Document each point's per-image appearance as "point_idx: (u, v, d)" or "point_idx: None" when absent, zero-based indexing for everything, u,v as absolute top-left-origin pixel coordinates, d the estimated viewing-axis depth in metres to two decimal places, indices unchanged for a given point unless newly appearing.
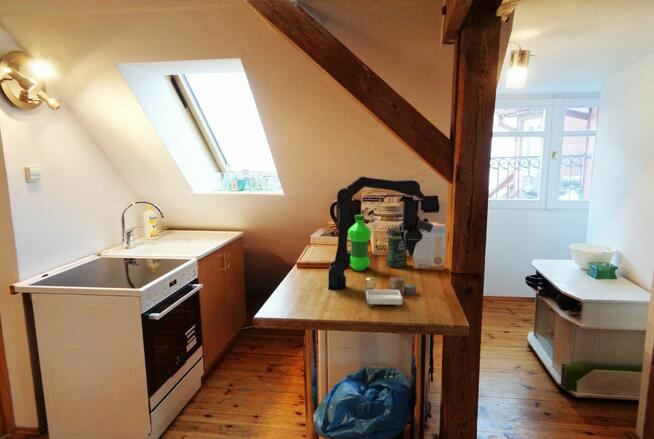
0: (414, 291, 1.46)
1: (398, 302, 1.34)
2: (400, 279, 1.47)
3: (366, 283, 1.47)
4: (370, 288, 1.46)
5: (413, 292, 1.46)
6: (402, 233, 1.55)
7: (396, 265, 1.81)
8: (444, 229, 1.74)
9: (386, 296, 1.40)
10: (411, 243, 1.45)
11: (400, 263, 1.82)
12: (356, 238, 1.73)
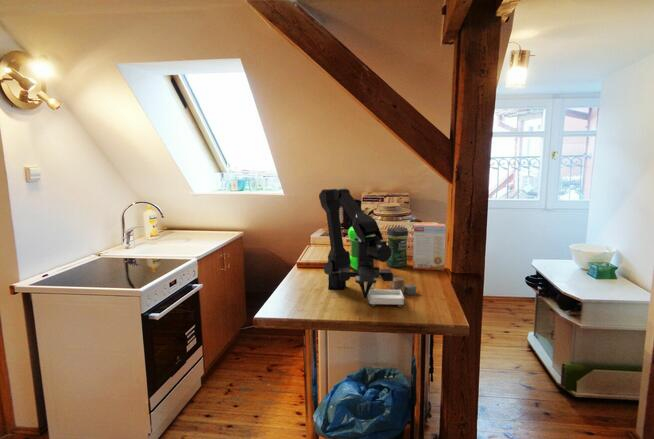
0: (414, 291, 1.46)
1: (400, 302, 1.34)
2: (400, 279, 1.47)
3: None
4: (370, 288, 1.46)
5: (413, 292, 1.46)
6: None
7: (396, 265, 1.81)
8: (444, 229, 1.74)
9: (387, 296, 1.40)
10: None
11: (400, 263, 1.82)
12: None
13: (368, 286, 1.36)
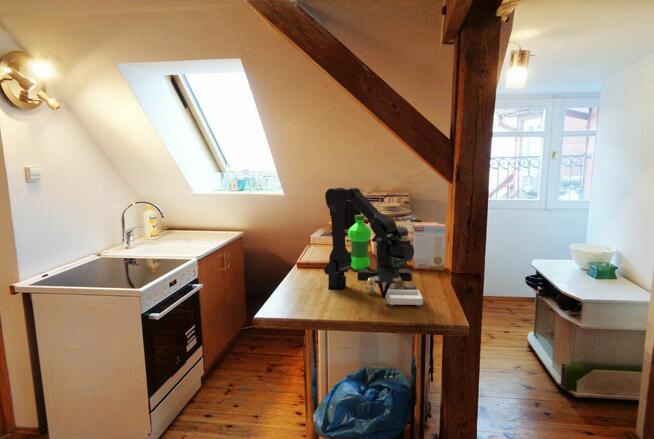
0: None
1: (419, 302, 1.33)
2: (400, 279, 1.47)
3: (366, 283, 1.47)
4: (370, 288, 1.46)
5: None
6: None
7: (396, 265, 1.81)
8: (444, 229, 1.74)
9: (405, 296, 1.39)
10: None
11: (400, 263, 1.82)
12: (356, 238, 1.73)
13: (387, 286, 1.36)
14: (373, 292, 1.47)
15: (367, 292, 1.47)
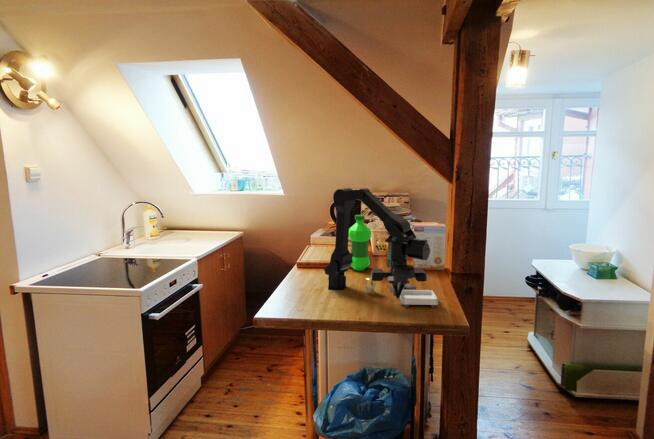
0: None
1: (433, 302, 1.33)
2: None
3: (366, 283, 1.47)
4: (370, 288, 1.46)
5: None
6: None
7: None
8: (444, 229, 1.74)
9: (419, 296, 1.39)
10: None
11: None
12: (356, 238, 1.73)
13: (401, 286, 1.36)
14: (373, 292, 1.47)
15: (367, 292, 1.47)
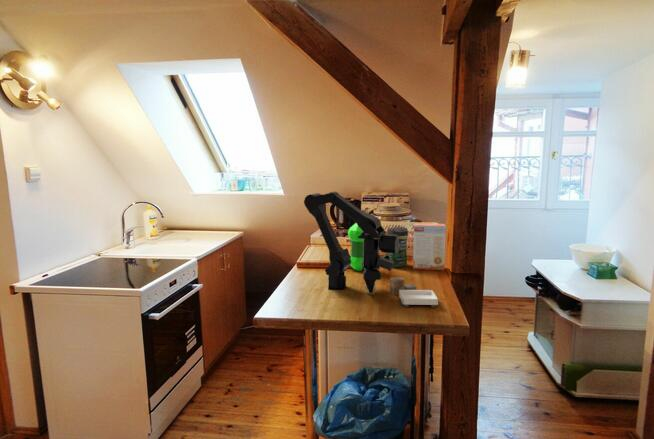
0: None
1: (433, 302, 1.33)
2: (400, 279, 1.47)
3: None
4: None
5: None
6: None
7: (396, 265, 1.81)
8: (444, 229, 1.74)
9: (419, 296, 1.39)
10: (370, 280, 1.44)
11: (400, 263, 1.82)
12: (356, 238, 1.73)
13: None
14: (373, 292, 1.47)
15: (367, 292, 1.47)
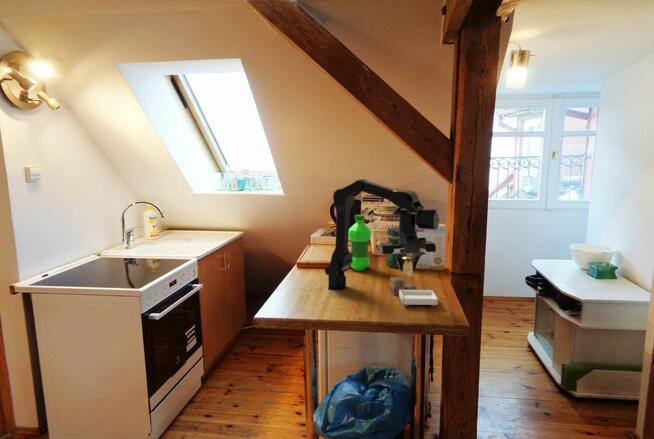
0: None
1: (433, 302, 1.33)
2: (400, 279, 1.47)
3: None
4: None
5: None
6: None
7: (396, 265, 1.81)
8: (444, 229, 1.74)
9: (419, 296, 1.39)
10: None
11: None
12: (356, 238, 1.73)
13: (416, 258, 1.36)
14: (403, 272, 1.36)
15: None
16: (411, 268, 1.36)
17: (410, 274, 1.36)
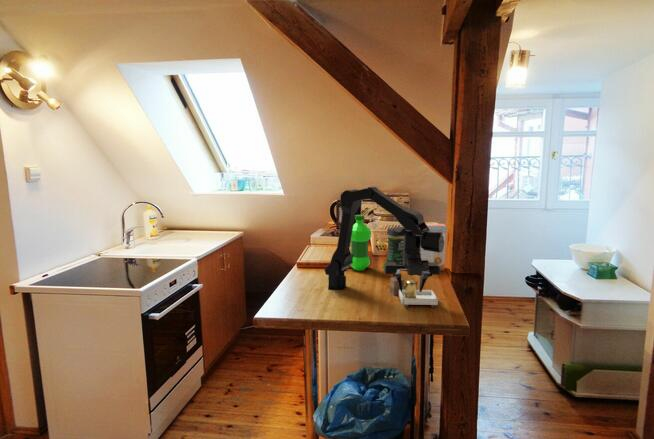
0: None
1: (433, 302, 1.33)
2: None
3: None
4: (405, 290, 1.37)
5: None
6: None
7: None
8: (444, 229, 1.74)
9: (419, 296, 1.39)
10: None
11: (400, 263, 1.82)
12: (356, 238, 1.73)
13: (423, 280, 1.35)
14: (406, 296, 1.37)
15: None
16: (414, 293, 1.36)
17: (413, 298, 1.36)
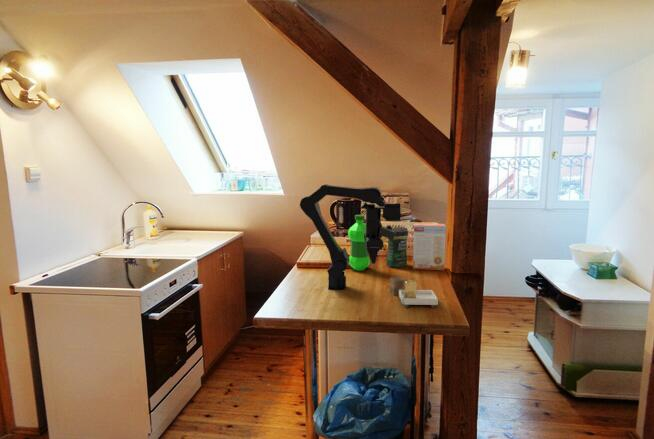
0: None
1: (433, 302, 1.33)
2: (400, 279, 1.47)
3: None
4: None
5: None
6: None
7: (396, 265, 1.81)
8: (444, 229, 1.74)
9: (419, 296, 1.39)
10: (373, 251, 1.44)
11: (400, 263, 1.82)
12: (356, 238, 1.73)
13: None
14: (405, 295, 1.37)
15: None
16: (413, 292, 1.36)
17: None
